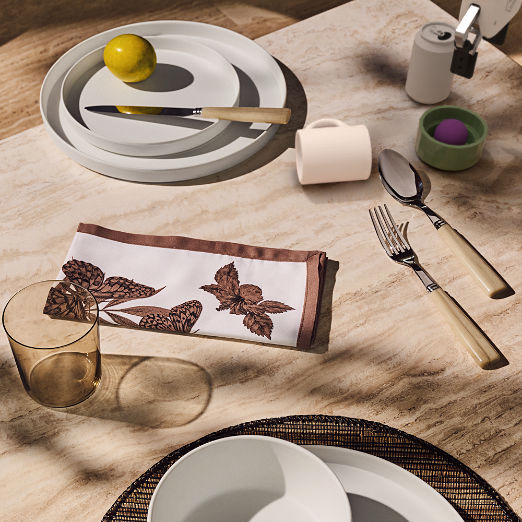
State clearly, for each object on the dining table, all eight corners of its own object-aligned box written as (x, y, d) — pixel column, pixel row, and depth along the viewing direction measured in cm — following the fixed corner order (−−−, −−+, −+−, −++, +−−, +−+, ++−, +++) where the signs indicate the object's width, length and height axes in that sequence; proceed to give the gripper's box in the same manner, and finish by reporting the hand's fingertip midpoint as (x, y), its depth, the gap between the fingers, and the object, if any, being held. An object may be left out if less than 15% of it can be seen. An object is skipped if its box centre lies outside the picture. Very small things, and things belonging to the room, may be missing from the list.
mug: (368, 190, 101) (374, 148, 95) (301, 195, 100) (303, 154, 94) (352, 138, 109) (357, 97, 102) (290, 143, 108) (292, 101, 102)
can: (432, 112, 113) (447, 48, 104) (395, 94, 116) (406, 31, 107) (457, 92, 116) (473, 28, 107) (420, 75, 120) (432, 12, 110)
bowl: (468, 128, 110) (475, 102, 106) (489, 170, 103) (497, 144, 100) (406, 133, 109) (411, 107, 105) (423, 176, 103) (429, 150, 99)
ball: (458, 136, 108) (465, 110, 104) (468, 157, 105) (476, 131, 101) (427, 139, 107) (433, 113, 104) (436, 160, 104) (443, 133, 100)
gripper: (503, -27, 77) (473, 98, 90) (564, -84, 85) (528, 38, 99) (443, -44, 80) (423, 79, 93) (507, -98, 89) (480, 22, 102)
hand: (477, 58), depth 96 cm, fingers open, 9 cm apart
